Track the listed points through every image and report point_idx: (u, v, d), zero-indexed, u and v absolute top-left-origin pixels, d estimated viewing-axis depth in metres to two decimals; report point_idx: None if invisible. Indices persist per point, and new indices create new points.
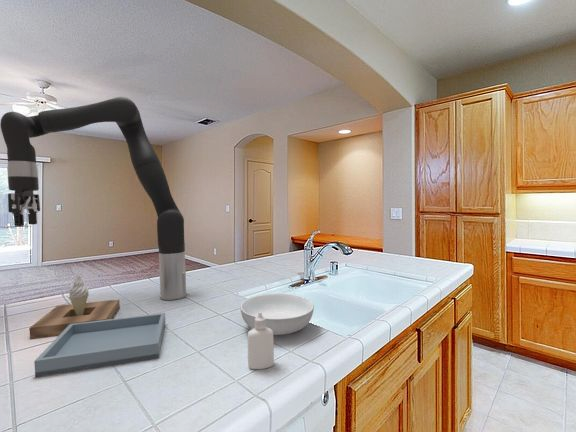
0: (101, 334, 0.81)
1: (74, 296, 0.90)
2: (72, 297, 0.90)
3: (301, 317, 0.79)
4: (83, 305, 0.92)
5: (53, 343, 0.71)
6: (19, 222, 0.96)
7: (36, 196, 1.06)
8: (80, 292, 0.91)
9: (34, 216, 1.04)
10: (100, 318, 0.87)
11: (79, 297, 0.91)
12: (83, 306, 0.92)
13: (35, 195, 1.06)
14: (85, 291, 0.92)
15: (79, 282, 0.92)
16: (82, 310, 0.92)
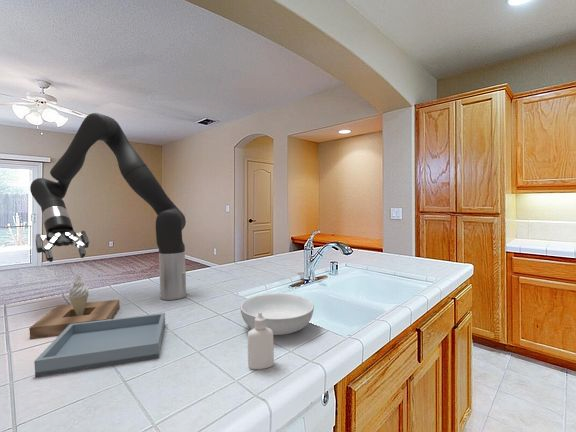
0: (101, 334, 0.81)
1: (74, 296, 0.90)
2: (72, 297, 0.90)
3: (301, 317, 0.79)
4: (83, 305, 0.92)
5: (53, 343, 0.71)
6: (47, 256, 0.96)
7: (81, 233, 1.08)
8: (80, 292, 0.91)
9: (80, 248, 1.03)
10: (100, 318, 0.87)
11: (79, 297, 0.91)
12: (83, 306, 0.92)
13: (81, 232, 1.08)
14: (85, 291, 0.92)
15: (79, 282, 0.92)
16: (82, 310, 0.92)
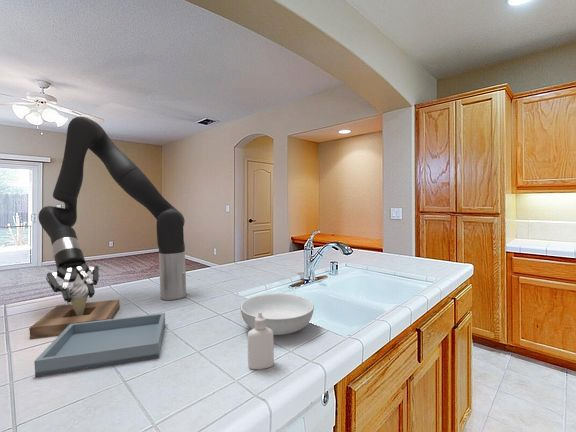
0: (101, 334, 0.81)
1: (74, 296, 0.90)
2: (72, 297, 0.90)
3: (301, 318, 0.79)
4: (83, 305, 0.92)
5: (53, 343, 0.71)
6: (64, 297, 0.89)
7: (94, 267, 0.99)
8: (80, 292, 0.91)
9: (88, 287, 0.94)
10: (100, 318, 0.87)
11: (79, 297, 0.91)
12: (83, 306, 0.92)
13: (94, 267, 0.99)
14: (85, 291, 0.92)
15: (79, 282, 0.92)
16: (82, 310, 0.92)
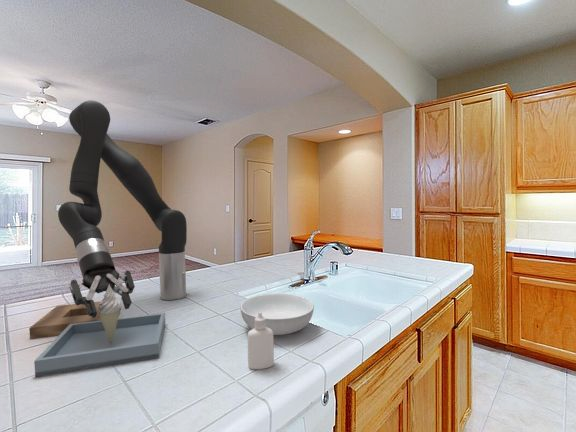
0: (101, 334, 0.81)
1: (105, 312, 0.75)
2: (102, 313, 0.74)
3: (301, 317, 0.79)
4: (115, 322, 0.76)
5: (53, 343, 0.71)
6: (89, 311, 0.72)
7: (125, 273, 0.83)
8: (112, 307, 0.75)
9: (124, 297, 0.79)
10: (100, 318, 0.87)
11: (111, 313, 0.75)
12: (115, 323, 0.77)
13: (125, 273, 0.84)
14: (117, 305, 0.76)
15: (110, 295, 0.76)
16: (113, 328, 0.76)
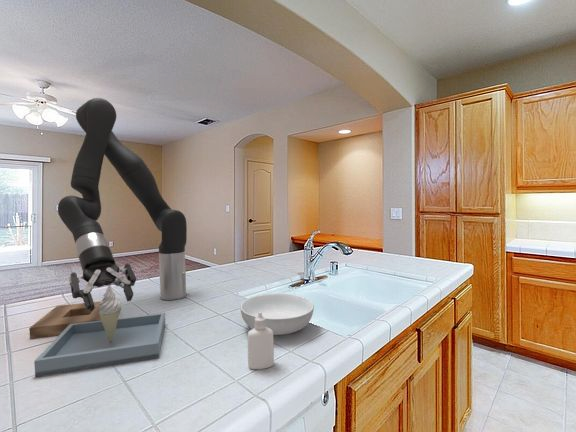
0: (101, 334, 0.81)
1: (105, 312, 0.75)
2: (102, 313, 0.74)
3: (301, 317, 0.79)
4: (115, 322, 0.76)
5: (53, 343, 0.71)
6: (86, 304, 0.72)
7: (125, 266, 0.83)
8: (112, 307, 0.75)
9: (126, 289, 0.79)
10: (100, 318, 0.87)
11: (111, 313, 0.75)
12: (115, 324, 0.76)
13: (124, 266, 0.84)
14: (117, 305, 0.76)
15: (110, 295, 0.76)
16: (113, 328, 0.76)
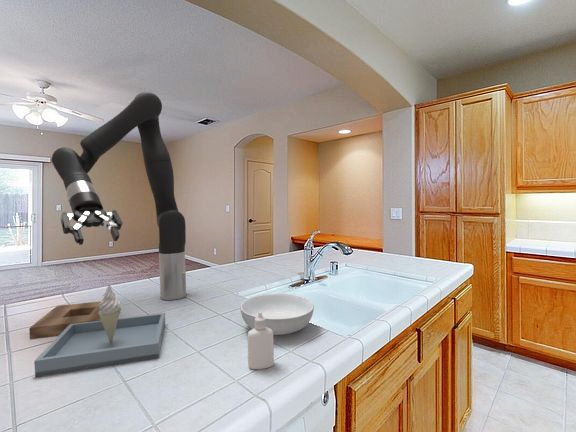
0: (101, 334, 0.81)
1: (105, 312, 0.75)
2: (102, 313, 0.74)
3: (301, 317, 0.79)
4: (115, 322, 0.76)
5: (53, 343, 0.71)
6: (76, 238, 0.80)
7: (112, 212, 0.91)
8: (112, 307, 0.75)
9: (112, 230, 0.87)
10: (100, 318, 0.87)
11: (111, 313, 0.75)
12: (115, 324, 0.76)
13: (111, 212, 0.92)
14: (117, 305, 0.76)
15: (110, 295, 0.76)
16: (113, 328, 0.76)
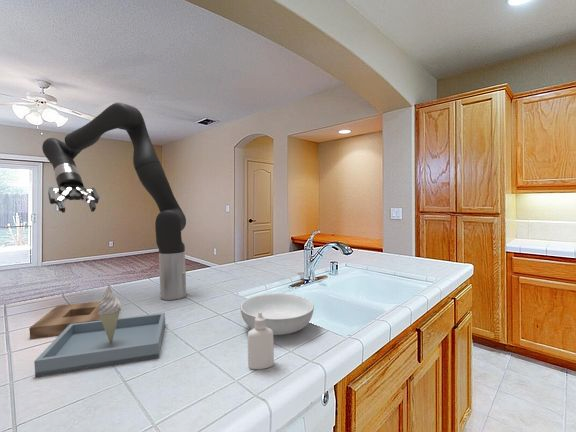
0: (101, 334, 0.81)
1: (104, 312, 0.74)
2: (102, 313, 0.74)
3: (301, 317, 0.79)
4: (115, 322, 0.76)
5: (53, 343, 0.71)
6: (59, 207, 1.01)
7: (91, 189, 1.12)
8: (111, 307, 0.75)
9: (90, 203, 1.08)
10: None
11: (110, 313, 0.75)
12: (115, 324, 0.76)
13: (91, 189, 1.12)
14: (117, 306, 0.76)
15: (110, 295, 0.76)
16: (113, 328, 0.76)
